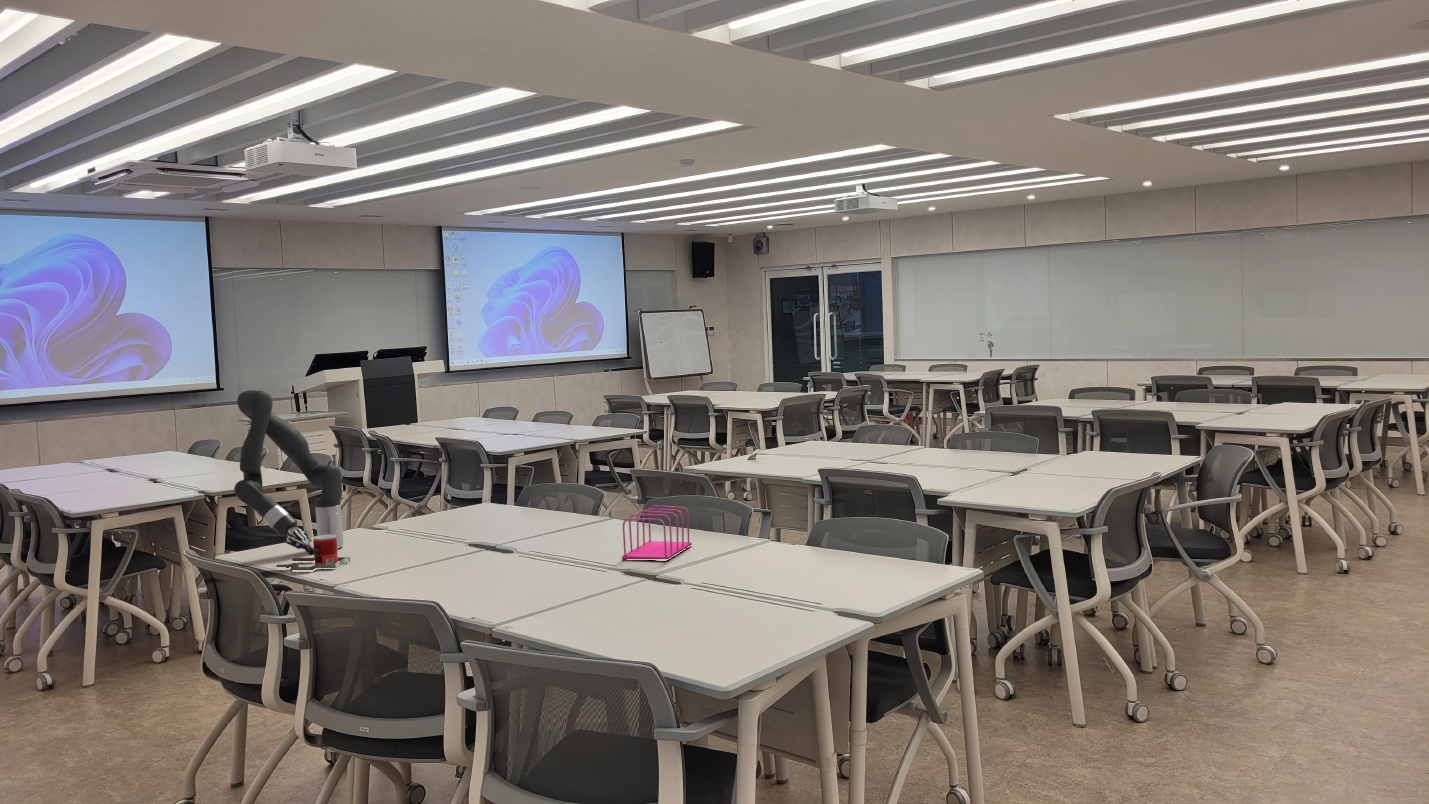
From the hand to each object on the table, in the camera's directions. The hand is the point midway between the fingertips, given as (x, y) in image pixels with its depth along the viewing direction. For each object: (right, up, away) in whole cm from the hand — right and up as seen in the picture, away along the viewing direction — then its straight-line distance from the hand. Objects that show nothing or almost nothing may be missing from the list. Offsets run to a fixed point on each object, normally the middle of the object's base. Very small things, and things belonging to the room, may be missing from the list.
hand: (314, 553), depth 352 cm
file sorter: (+124, 0, 0) cm, 124 cm away
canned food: (+5, -5, 0) cm, 7 cm away
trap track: (0, -5, +1) cm, 5 cm away
